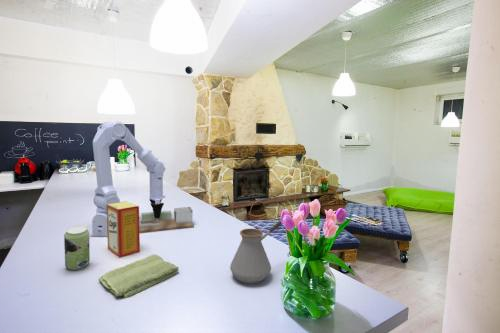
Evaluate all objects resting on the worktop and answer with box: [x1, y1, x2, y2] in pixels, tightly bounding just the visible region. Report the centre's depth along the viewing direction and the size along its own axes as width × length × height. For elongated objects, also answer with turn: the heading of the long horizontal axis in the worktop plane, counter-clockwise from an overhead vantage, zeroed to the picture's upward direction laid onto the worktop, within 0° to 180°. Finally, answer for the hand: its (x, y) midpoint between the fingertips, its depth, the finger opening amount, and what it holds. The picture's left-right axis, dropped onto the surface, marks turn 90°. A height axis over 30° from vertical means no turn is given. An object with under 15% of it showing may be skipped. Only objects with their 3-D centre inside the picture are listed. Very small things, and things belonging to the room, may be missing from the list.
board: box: [139, 218, 195, 234], centre depth 116 cm, size 22×12×1 cm, turn 113°
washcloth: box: [98, 254, 180, 299], centre depth 73 cm, size 13×18×3 cm
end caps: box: [139, 206, 194, 228], centre depth 116 cm, size 22×6×6 cm, turn 113°
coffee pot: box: [229, 220, 283, 285], centre depth 77 cm, size 21×12×15 cm, turn 130°
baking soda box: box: [107, 200, 141, 259], centre depth 89 cm, size 10×6×16 cm
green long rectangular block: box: [141, 210, 172, 220], centre depth 125 cm, size 13×3×4 cm, turn 113°
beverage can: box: [63, 225, 91, 271], centre depth 77 cm, size 6×7×12 cm
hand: (156, 215), depth 125 cm, fingers open, 7 cm apart
